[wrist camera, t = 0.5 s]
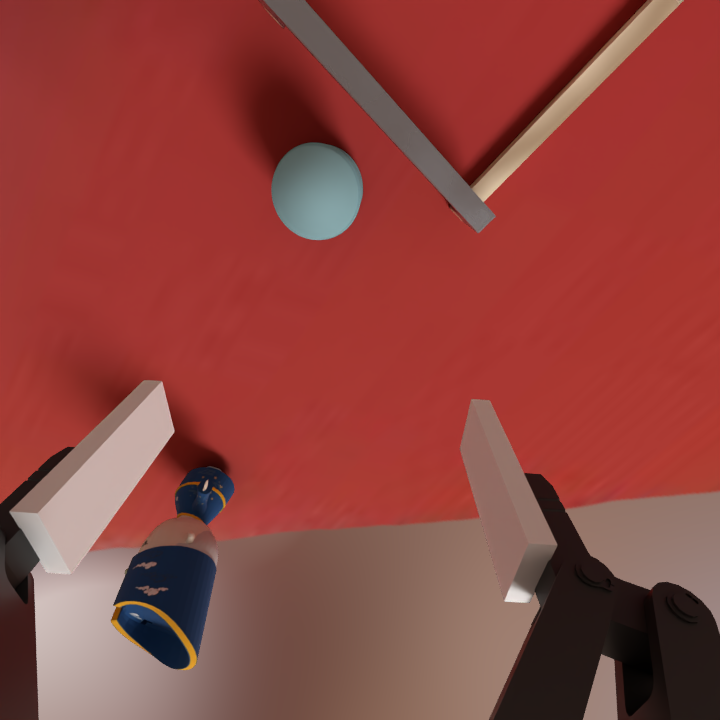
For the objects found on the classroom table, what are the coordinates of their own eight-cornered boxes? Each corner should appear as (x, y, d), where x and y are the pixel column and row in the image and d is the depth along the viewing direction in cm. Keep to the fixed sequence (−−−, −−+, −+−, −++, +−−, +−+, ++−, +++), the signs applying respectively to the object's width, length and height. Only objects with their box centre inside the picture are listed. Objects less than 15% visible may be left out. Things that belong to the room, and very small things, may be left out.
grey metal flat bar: (265, 9, 26) (237, -29, 21) (278, -14, 26) (252, -59, 20) (461, 220, 33) (478, 233, 27) (475, 205, 32) (495, 216, 27)
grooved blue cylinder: (274, 190, 32) (250, 198, 26) (320, 125, 30) (306, 118, 24) (330, 241, 34) (321, 260, 28) (378, 184, 32) (379, 191, 26)
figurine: (197, 429, 45) (86, 602, 28) (271, 453, 47) (209, 630, 29) (180, 496, 51) (80, 673, 34) (246, 515, 53) (183, 694, 35)
